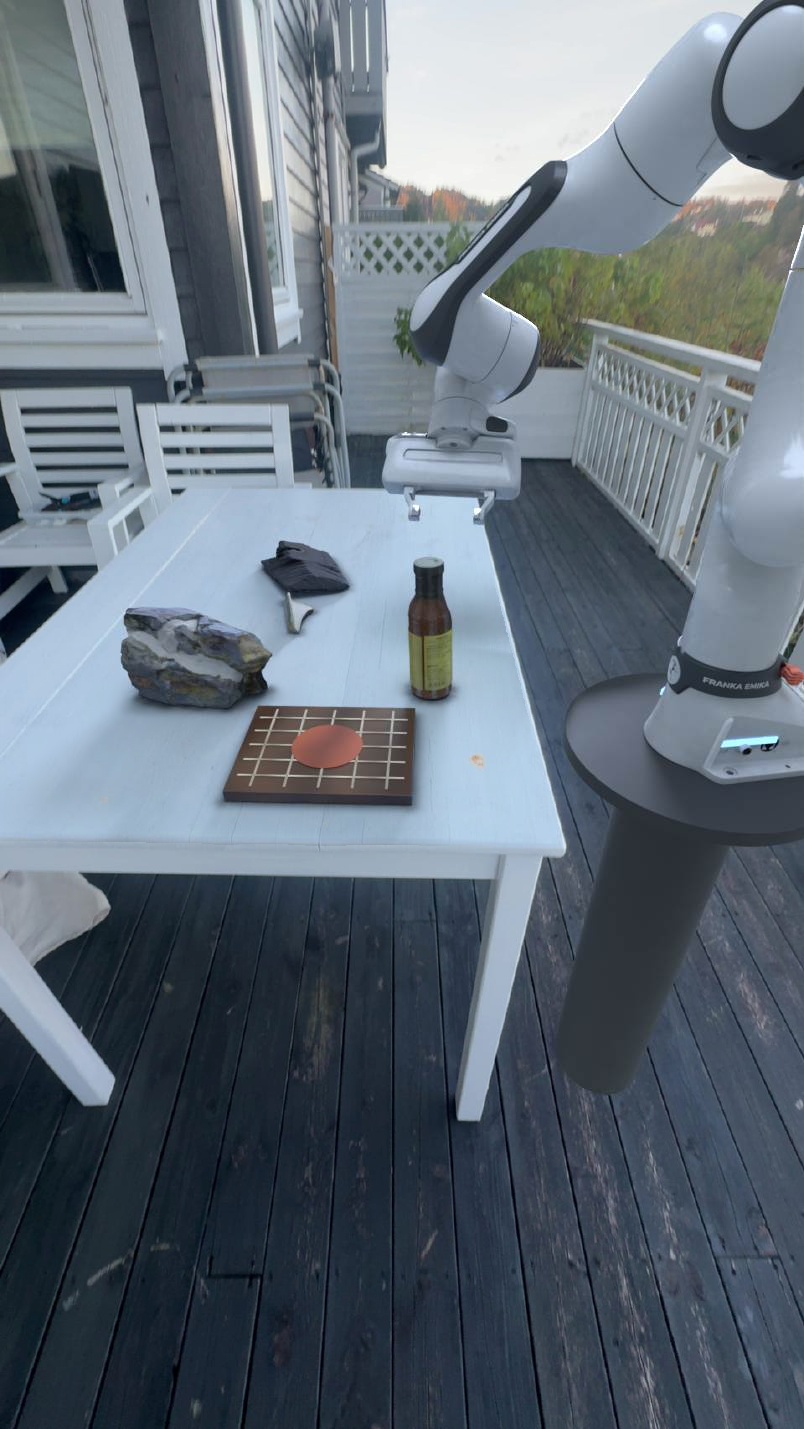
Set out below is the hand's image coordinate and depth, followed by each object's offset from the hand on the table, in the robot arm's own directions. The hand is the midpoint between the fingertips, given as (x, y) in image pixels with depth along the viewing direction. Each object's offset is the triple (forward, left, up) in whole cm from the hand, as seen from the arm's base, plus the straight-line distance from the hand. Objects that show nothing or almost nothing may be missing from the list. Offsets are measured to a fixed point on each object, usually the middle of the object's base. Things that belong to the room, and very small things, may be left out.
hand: (445, 521), depth 90 cm
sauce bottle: (+2, +12, -22) cm, 25 cm away
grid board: (+15, +28, -21) cm, 38 cm away
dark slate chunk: (+28, -31, -22) cm, 47 cm away
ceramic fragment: (+27, -12, -22) cm, 37 cm away
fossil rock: (+35, +15, -22) cm, 44 cm away
